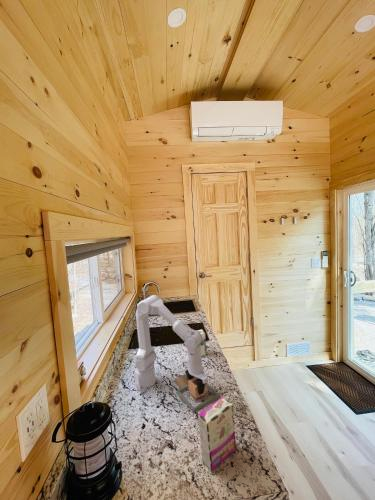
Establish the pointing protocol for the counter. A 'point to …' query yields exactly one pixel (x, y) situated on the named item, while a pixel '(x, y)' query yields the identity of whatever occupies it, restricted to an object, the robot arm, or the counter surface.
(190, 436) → the counter surface
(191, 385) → the collar
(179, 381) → the stake board
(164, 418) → the counter surface
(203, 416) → the candy bar box
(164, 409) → the counter surface
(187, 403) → the tray
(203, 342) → the syrup box
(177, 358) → the counter surface
